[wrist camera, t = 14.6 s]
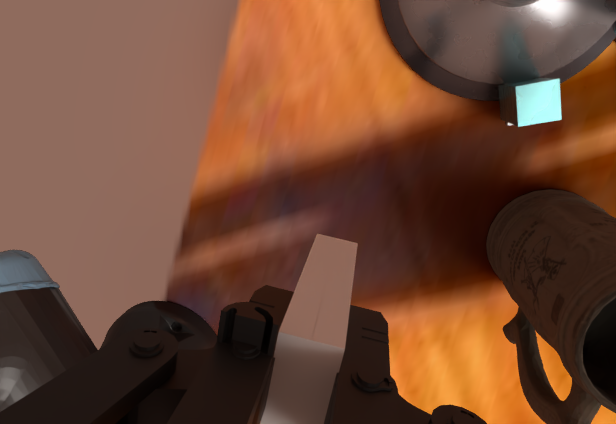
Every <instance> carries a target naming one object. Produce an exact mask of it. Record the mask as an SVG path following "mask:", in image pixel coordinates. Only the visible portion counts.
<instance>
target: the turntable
mask: <svg viewBox="0 0 616 424" xmlns="http://www.w3.org/2000/svg"><path fill="white" fill-rule="evenodd" d="M398 5H399V10H400V13H401V16H402V19H403V22H404V25H405V27H406V29H407V31H408V33H409V35H410V37H411V38H412V40H413V41H414V43H415V44H416V46H417V47H418V48H419V49H420V50H421V51H422V53H423V54H424V55H425V56H426V57H427V58H428V59H430V60H431V61H432V62H433V63H434V64H436V65H437V66H438V67H440V68H442V69H443V70H445V71H447V72H448V73H451V74H453V75H455V76H458V77H460V78H463V79H467V80H470V81H475V82H482V83H491V84H500V85H498V90H499V103H500V116H501V120H504V121H505V125H508V126H509V125H516V126H518V127H519V126H525V125H531V124H537V123H543V122H549V121H555V120H561V98H560V78H538V77H541V76H544V75H546V74H549V73H551V72H554V71H556V70H558V69H559V68H561V67H563V66H565V65H567V64H569V63H570V62H572V61H573V60H575V59H576V58H578V57H579V56H581V55H582V54H583V53H585V52H586V51H587V50H588V49H589V48H591V47H592V46H593V45H594V44H595V43H596V42H597V41H598V40H599V39H600V38H601V37H602V36H603V35H604V34H605V33H606V32H607V31H608V30H609V28H610V27H611V26H612V24H613V23H614V22H615V21H616V0H540V1H537V2H535V3H533V4H530V5H527V6H522V7H504V6H500V5H497V4H494V3H492V2H490V1H488V0H398Z"/></svg>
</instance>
